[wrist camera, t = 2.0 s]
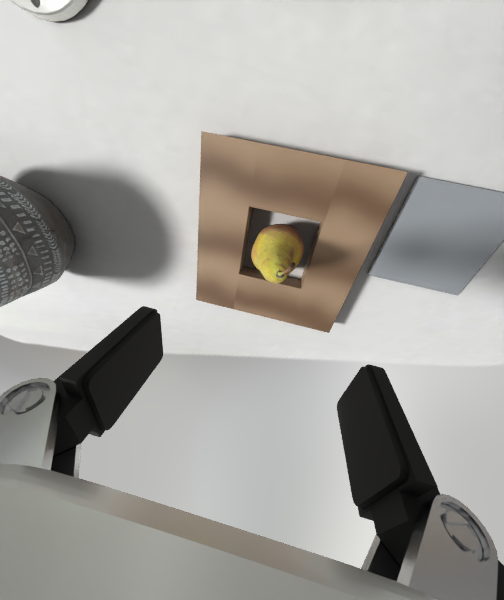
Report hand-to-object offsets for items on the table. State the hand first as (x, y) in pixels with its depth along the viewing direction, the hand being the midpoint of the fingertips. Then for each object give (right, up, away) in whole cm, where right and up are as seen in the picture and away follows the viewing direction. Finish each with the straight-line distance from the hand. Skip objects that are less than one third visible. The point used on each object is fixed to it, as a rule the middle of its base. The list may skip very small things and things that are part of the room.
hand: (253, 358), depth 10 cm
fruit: (+3, +9, +15) cm, 18 cm away
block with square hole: (+3, +9, +15) cm, 18 cm away
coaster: (+19, +9, +12) cm, 24 cm away
